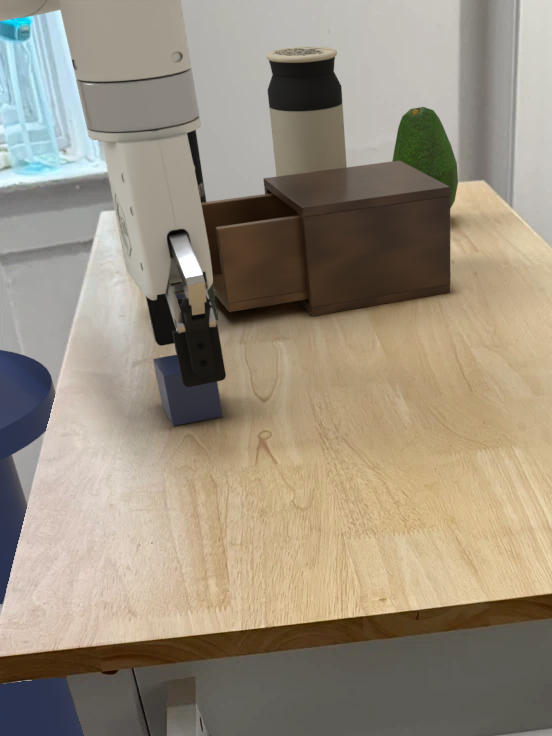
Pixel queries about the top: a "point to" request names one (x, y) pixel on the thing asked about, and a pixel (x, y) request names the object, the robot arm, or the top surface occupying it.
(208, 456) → the top surface
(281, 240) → the drawer
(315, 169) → the travel mug
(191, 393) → the block
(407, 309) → the top surface
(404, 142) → the avocado
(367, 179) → the cabinet
